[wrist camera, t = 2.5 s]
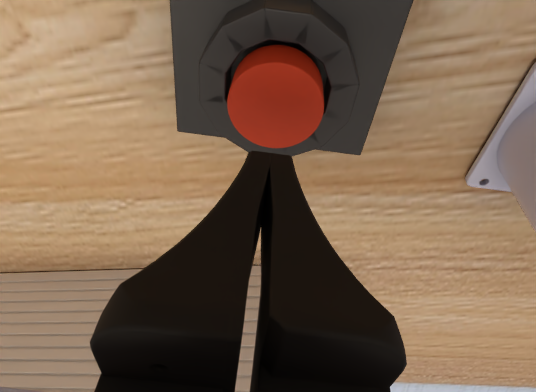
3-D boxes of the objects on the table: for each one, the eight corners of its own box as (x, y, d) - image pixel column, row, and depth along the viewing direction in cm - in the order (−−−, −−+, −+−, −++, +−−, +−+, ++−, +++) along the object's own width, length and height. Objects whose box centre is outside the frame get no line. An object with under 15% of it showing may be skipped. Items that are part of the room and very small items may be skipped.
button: (331, 51, 16) (334, 69, 15) (313, 132, 19) (313, 154, 17) (234, 37, 16) (228, 55, 15) (230, 121, 19) (225, 142, 17)
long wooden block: (319, 263, 31) (324, 412, 23) (324, 331, 38) (330, 462, 30) (-39, 274, 35) (-137, 401, 27) (27, 332, 42) (-37, 447, 34)
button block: (406, -14, 17) (424, 14, 14) (357, 138, 22) (364, 177, 20) (177, -46, 17) (154, -24, 14) (184, 115, 22) (168, 151, 20)
